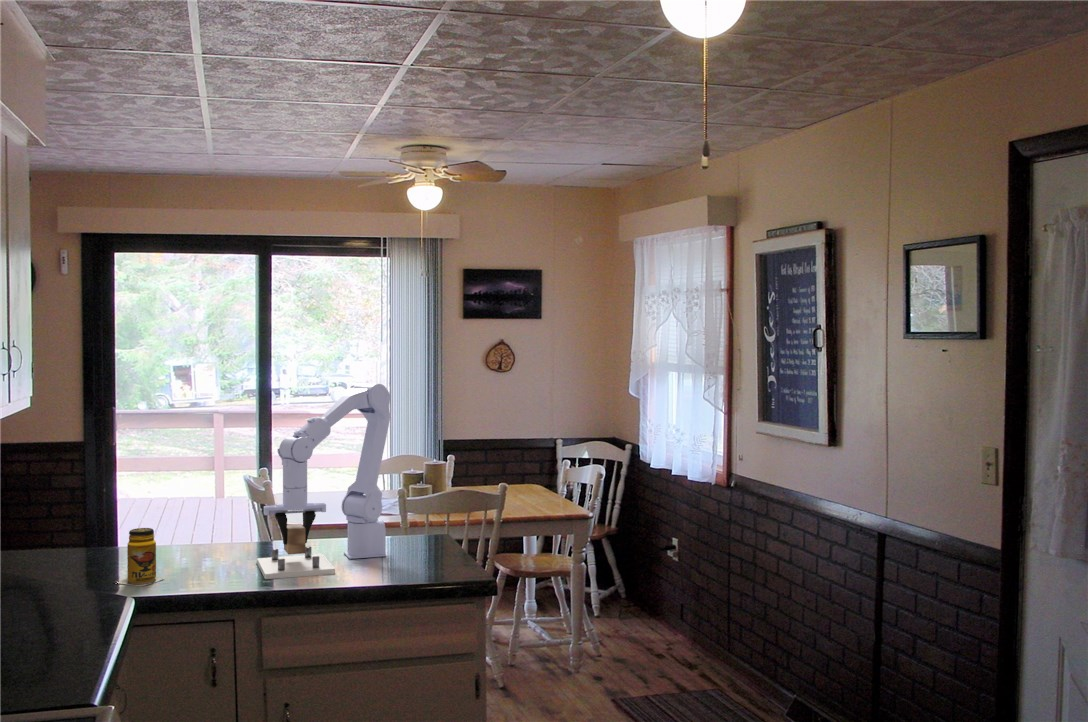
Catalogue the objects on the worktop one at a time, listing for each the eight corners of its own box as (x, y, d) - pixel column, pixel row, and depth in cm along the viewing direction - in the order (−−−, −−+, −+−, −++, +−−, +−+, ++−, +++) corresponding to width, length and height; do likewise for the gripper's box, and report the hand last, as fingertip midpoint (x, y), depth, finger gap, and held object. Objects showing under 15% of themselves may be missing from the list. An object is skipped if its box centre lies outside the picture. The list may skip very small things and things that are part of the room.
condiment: (143, 586, 227) (143, 533, 227) (112, 583, 229) (112, 530, 229) (165, 579, 234) (165, 527, 233) (134, 576, 236) (134, 525, 236)
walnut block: (300, 548, 250) (300, 523, 250) (305, 553, 243) (305, 528, 243) (284, 549, 249) (283, 524, 249) (288, 554, 241) (288, 529, 241)
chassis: (322, 558, 257) (322, 543, 257) (335, 573, 240) (335, 558, 240) (256, 563, 251) (256, 548, 251) (265, 579, 234) (265, 563, 234)
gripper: (322, 483, 251) (322, 538, 252) (262, 486, 246) (262, 542, 246) (327, 487, 245) (327, 543, 245) (265, 490, 239) (265, 547, 240)
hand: (295, 543), depth 245 cm, fingers closed on walnut block, 4 cm apart
